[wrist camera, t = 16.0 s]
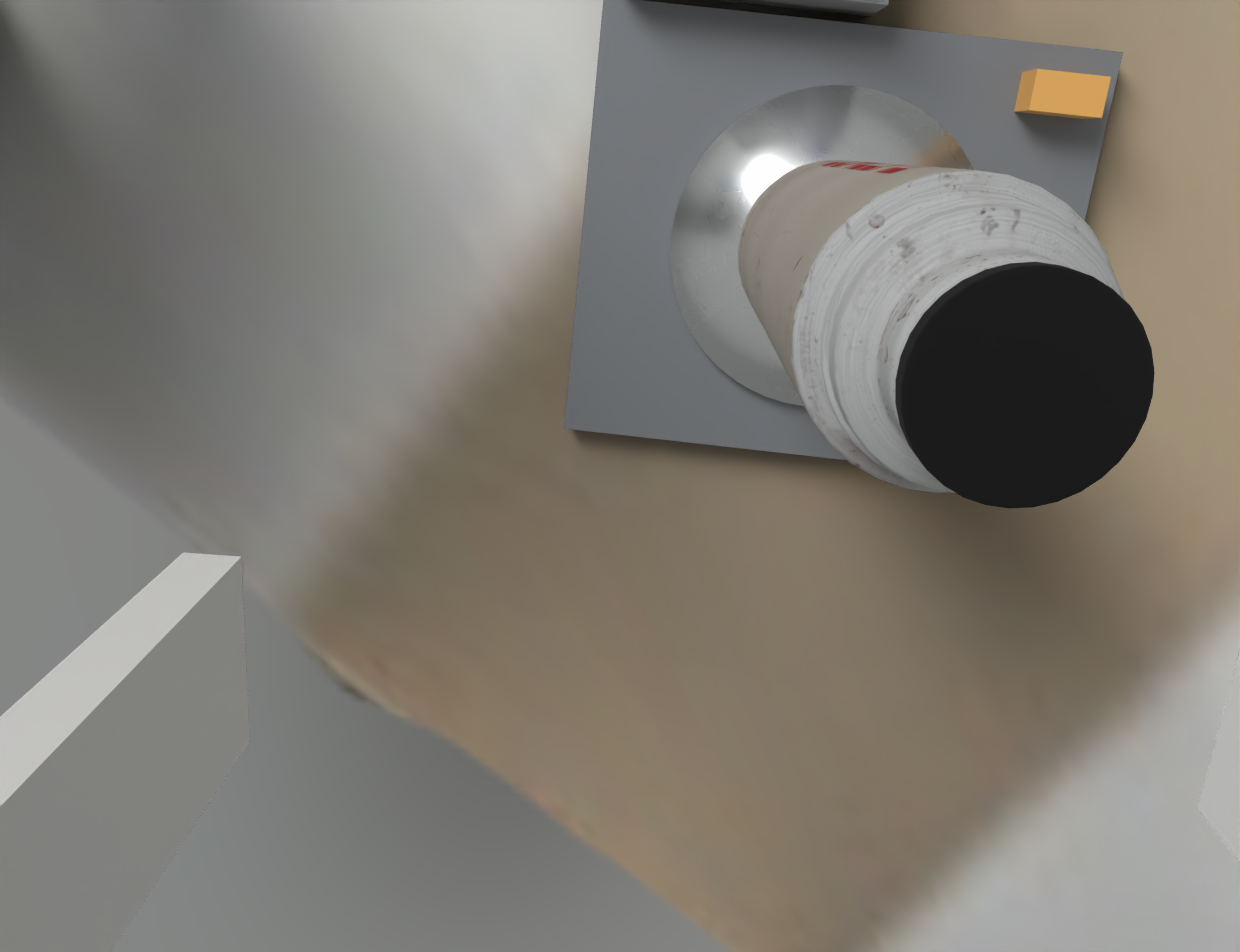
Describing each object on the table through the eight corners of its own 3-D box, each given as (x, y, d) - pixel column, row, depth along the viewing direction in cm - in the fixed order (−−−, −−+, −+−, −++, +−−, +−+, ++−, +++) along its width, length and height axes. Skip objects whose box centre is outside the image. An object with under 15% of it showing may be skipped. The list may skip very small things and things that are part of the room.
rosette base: (566, 420, 52) (560, 439, 49) (605, 0, 47) (601, -11, 44) (1016, 471, 52) (1039, 493, 49) (1109, 55, 47) (1143, 47, 43)
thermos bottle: (787, 128, 46) (952, 101, 19) (952, 207, 47) (1330, 287, 20) (707, 297, 48) (753, 483, 22) (864, 371, 49) (1100, 639, 22)
